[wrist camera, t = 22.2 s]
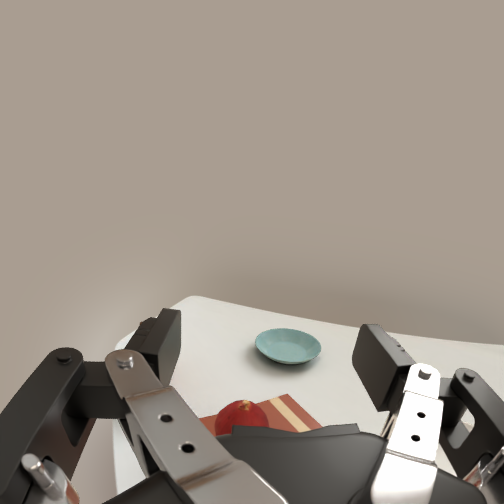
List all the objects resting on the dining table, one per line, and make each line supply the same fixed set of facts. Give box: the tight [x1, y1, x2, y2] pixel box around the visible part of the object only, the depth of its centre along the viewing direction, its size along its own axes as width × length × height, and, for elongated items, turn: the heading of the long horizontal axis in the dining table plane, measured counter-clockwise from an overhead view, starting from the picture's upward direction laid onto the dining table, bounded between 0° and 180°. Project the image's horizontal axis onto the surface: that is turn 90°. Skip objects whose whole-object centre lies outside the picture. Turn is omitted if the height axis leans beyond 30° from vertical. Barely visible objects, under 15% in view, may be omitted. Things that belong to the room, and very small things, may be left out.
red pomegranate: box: [214, 400, 269, 436], centre depth 27 cm, size 6×6×8 cm
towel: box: [199, 394, 322, 437], centre depth 27 cm, size 20×15×1 cm
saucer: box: [255, 328, 321, 364], centre depth 50 cm, size 12×12×2 cm
